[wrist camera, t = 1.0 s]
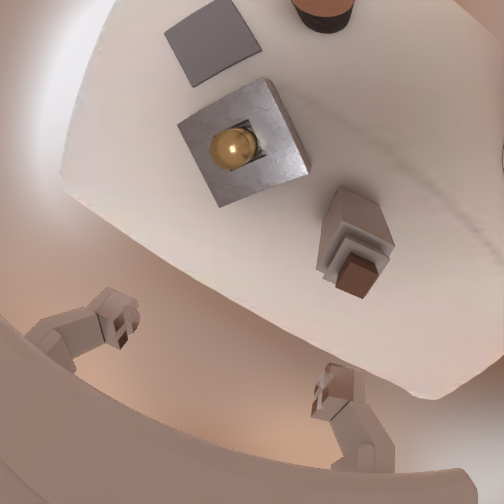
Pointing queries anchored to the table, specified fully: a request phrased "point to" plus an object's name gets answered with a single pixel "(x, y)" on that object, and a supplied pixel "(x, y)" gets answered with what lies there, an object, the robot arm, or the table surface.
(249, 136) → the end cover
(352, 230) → the grey square bottle
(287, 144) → the housing
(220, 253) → the table surface
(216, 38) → the mat
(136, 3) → the table surface
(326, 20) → the travel mug
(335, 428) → the robot arm
